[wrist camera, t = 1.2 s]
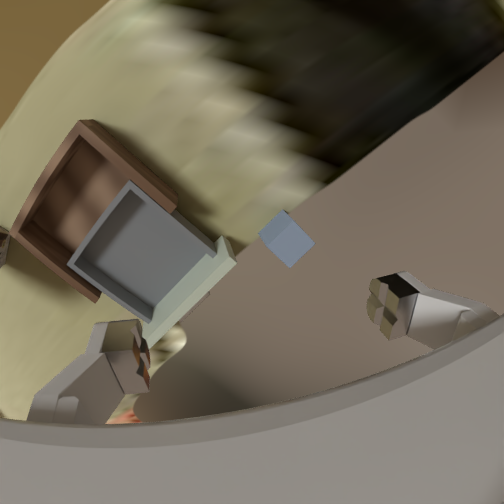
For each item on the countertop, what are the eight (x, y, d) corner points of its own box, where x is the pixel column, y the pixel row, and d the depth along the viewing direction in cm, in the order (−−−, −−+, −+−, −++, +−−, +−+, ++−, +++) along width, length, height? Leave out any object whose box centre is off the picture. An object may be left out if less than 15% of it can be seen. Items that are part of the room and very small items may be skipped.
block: (282, 209, 44) (293, 220, 40) (302, 230, 47) (315, 243, 42) (257, 233, 45) (266, 246, 41) (279, 253, 47) (289, 268, 43)
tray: (142, 164, 36) (133, 174, 30) (235, 246, 44) (244, 268, 38) (69, 260, 39) (53, 284, 33) (157, 323, 47) (155, 353, 41)
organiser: (93, 119, 33) (78, 120, 28) (178, 194, 40) (177, 206, 35) (26, 218, 36) (8, 233, 31) (103, 281, 43) (95, 303, 38)
